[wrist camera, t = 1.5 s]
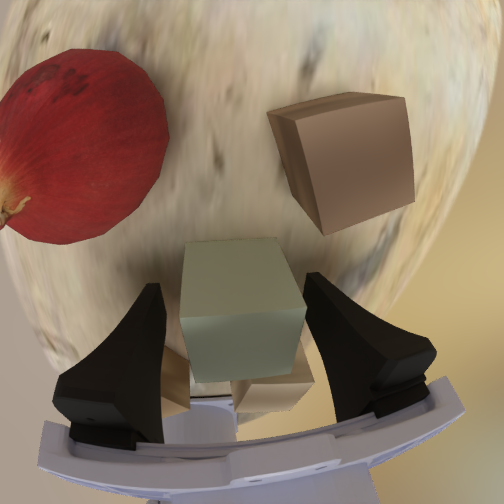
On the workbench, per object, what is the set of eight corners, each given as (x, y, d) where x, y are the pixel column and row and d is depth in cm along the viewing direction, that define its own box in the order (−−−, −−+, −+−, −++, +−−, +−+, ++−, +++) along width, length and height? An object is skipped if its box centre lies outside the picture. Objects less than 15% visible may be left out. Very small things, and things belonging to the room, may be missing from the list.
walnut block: (365, 170, 12) (414, 202, 9) (291, 194, 12) (323, 236, 9) (349, 91, 10) (404, 97, 7) (266, 112, 10) (295, 120, 7)
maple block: (278, 367, 20) (289, 410, 17) (228, 365, 19) (234, 412, 15) (298, 334, 18) (315, 382, 15) (242, 331, 17) (251, 383, 14)
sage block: (269, 302, 16) (290, 373, 12) (194, 308, 15) (195, 383, 11) (275, 236, 13) (307, 307, 9) (185, 241, 13) (179, 317, 9)
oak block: (189, 360, 18) (190, 409, 15) (153, 377, 19) (150, 421, 15) (147, 332, 16) (140, 385, 12) (113, 352, 17) (104, 400, 13)
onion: (38, 120, 8) (-96, 184, 1) (136, 36, 7) (27, -36, 1) (102, 213, 11) (23, 350, 5) (205, 143, 10) (201, 239, 4)
